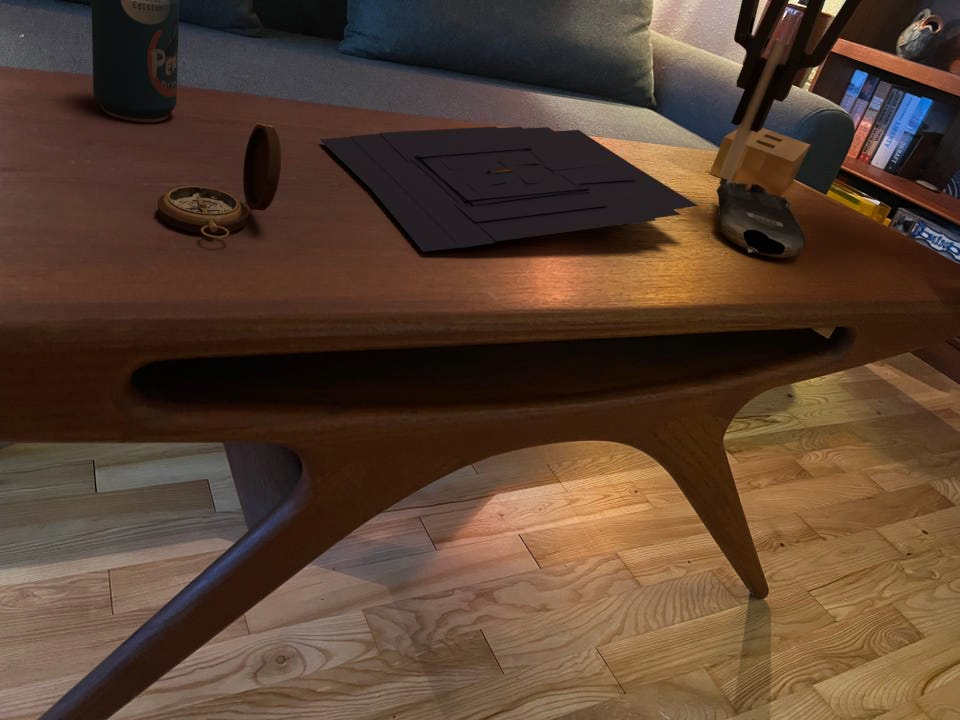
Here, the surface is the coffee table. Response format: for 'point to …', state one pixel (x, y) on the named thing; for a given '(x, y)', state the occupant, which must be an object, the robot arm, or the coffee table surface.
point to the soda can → (135, 57)
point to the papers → (502, 183)
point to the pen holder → (764, 160)
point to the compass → (219, 208)
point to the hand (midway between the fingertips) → (746, 125)
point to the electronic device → (758, 220)
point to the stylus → (751, 112)
